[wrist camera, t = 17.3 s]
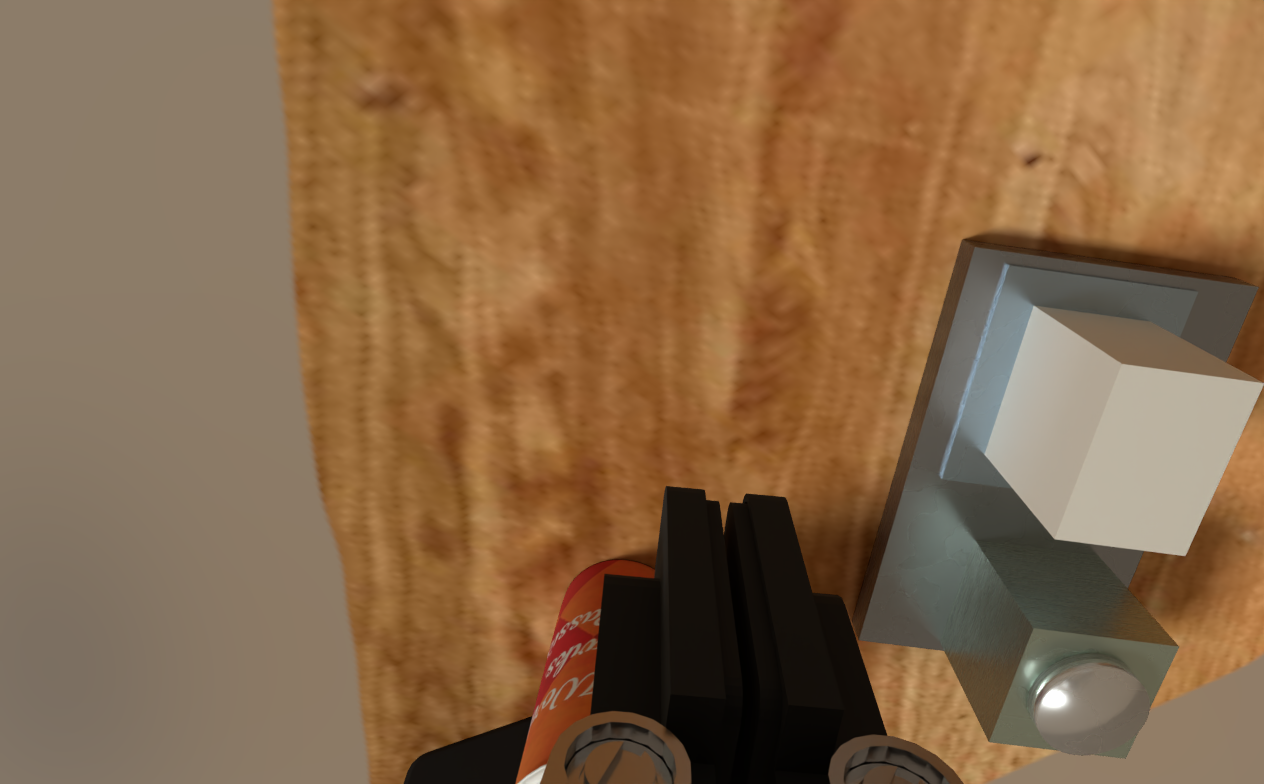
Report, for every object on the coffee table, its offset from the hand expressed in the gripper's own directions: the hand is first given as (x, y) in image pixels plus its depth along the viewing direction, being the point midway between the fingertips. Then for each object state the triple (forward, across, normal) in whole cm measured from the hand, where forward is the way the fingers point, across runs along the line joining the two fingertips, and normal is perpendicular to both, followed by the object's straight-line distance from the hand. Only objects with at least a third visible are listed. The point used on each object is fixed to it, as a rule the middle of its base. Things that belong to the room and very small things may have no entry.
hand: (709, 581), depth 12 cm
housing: (+24, -18, +6) cm, 30 cm away
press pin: (+22, -19, +17) cm, 34 cm away
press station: (+26, -18, +10) cm, 33 cm away
